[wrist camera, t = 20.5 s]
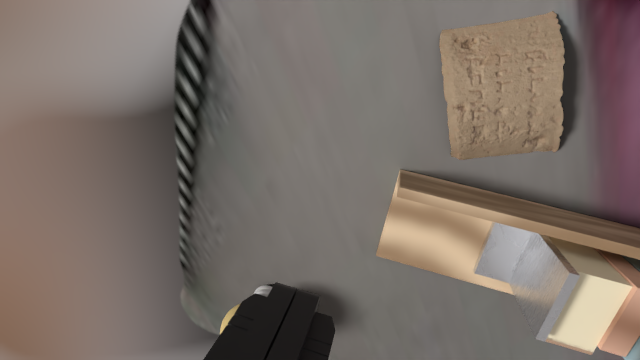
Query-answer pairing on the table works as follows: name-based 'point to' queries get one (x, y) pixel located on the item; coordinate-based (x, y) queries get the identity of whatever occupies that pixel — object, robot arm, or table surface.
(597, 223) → the rack
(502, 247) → the bookend
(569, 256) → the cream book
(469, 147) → the clay tablet
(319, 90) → the table surface
